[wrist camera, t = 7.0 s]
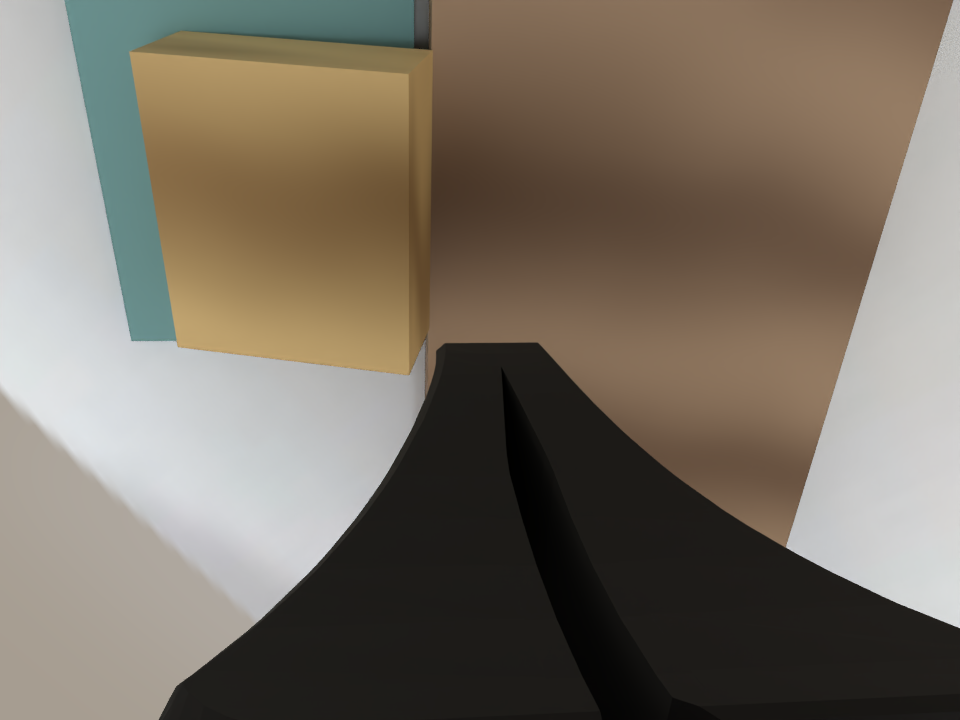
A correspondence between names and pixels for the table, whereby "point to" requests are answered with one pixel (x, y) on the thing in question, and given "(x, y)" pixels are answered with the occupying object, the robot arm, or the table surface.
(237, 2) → the mat
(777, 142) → the deck
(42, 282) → the table surface
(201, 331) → the tile
